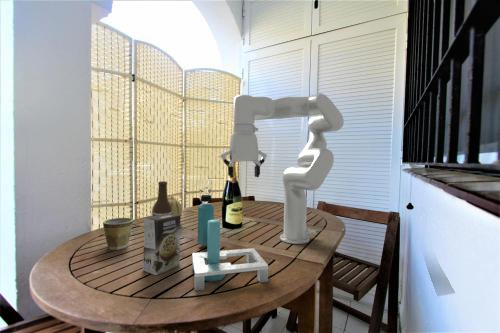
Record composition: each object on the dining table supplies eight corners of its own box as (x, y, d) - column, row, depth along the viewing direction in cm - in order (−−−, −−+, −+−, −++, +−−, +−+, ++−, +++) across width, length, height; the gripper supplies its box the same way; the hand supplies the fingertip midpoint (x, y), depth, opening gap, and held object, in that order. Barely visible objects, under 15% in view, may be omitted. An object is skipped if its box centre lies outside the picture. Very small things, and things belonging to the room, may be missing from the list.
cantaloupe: (153, 222, 129) (153, 194, 129) (182, 221, 133) (182, 193, 132) (148, 230, 115) (149, 198, 114) (181, 229, 118) (181, 198, 118)
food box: (156, 276, 70) (156, 220, 70) (142, 270, 74) (143, 217, 73) (180, 265, 78) (181, 214, 78) (167, 260, 82) (167, 212, 81)
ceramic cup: (137, 247, 93) (137, 220, 93) (108, 253, 86) (108, 225, 86) (124, 239, 102) (124, 215, 102) (96, 244, 95) (96, 219, 95)
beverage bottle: (210, 250, 92) (211, 196, 91) (194, 248, 93) (195, 195, 93) (216, 244, 98) (217, 194, 98) (201, 242, 99) (201, 193, 99)
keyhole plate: (253, 261, 82) (253, 248, 82) (267, 281, 69) (268, 265, 69) (192, 267, 77) (192, 253, 76) (194, 290, 63) (195, 273, 63)
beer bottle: (148, 238, 103) (148, 181, 103) (161, 233, 110) (162, 180, 110) (162, 241, 100) (163, 182, 100) (175, 236, 107) (176, 181, 107)
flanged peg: (222, 269, 76) (223, 217, 75) (226, 279, 69) (227, 223, 69) (200, 271, 74) (201, 219, 73) (202, 282, 67) (203, 224, 67)
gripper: (262, 132, 95) (262, 176, 96) (218, 130, 90) (219, 177, 91) (270, 130, 88) (270, 177, 89) (222, 128, 83) (222, 178, 84)
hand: (244, 177), depth 90 cm, fingers open, 9 cm apart
